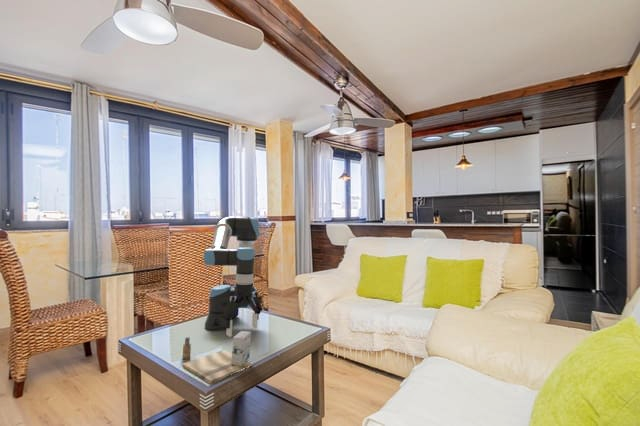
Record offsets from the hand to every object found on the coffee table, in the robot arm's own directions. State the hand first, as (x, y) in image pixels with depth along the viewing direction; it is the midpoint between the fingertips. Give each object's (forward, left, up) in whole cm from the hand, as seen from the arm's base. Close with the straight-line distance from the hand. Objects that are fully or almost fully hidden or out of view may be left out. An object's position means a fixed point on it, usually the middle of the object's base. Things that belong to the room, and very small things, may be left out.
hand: (242, 331), depth 140 cm
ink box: (0, 0, -13) cm, 13 cm away
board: (+8, -5, -14) cm, 17 cm away
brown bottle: (+13, -22, -14) cm, 29 cm away
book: (-33, -57, -14) cm, 67 cm away
